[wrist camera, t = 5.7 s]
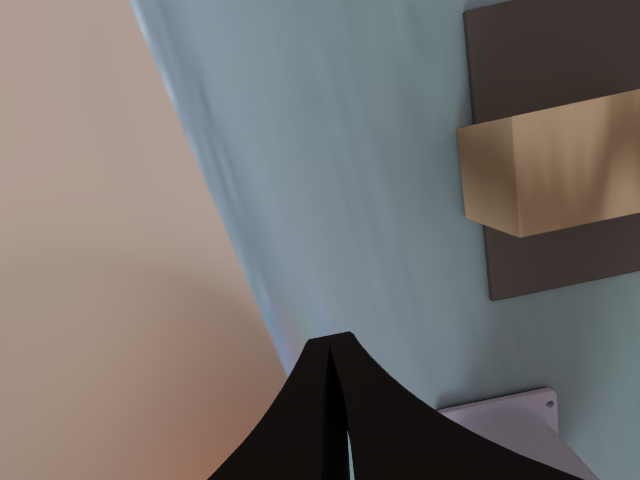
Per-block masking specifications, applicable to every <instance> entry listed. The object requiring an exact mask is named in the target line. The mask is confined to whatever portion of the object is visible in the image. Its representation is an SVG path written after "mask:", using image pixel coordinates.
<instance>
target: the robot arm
mask: <svg viewBox="0 0 640 480" xmlns="http://www.w3.org/2000/svg"><path fill="white" fill-rule="evenodd" d="M547 402H548V403H547ZM347 430H348V434H349V438H350V443H351V452H352V460H353V469H354V478H355V480H599V479H598V477H597V476H596V475H595V474H594V473H593V472H592V471H591V470H590V469H589V468H588V467H587V465H586V464H585V463H584V462H583V461H582V460H581V459H580V458H579V457H578V456H577V455H576V453H575V452H574V451H573V450H572V449H571V448H570V447H569V446H568V445H567V444H566V443H565V441H564V440H563V439H562V438H561V437H560V436H559V429H558V408H557V394H556V393H555V392H554V391H553V390H552V389H551V388H543V389H538V390H533V391H528V392H523V393H518V394H513V395H509V396H504V397H499V398H494V399H489V400H484V401H479V402H474V403H470V404H465V405H460V406H455V407H450V408H445V409H441V410H439V411H436V410H435V409H433V408H432V407H430V406H429V405H427V404H426V403H424V402H423V401H422V400H420V399H419V398H417V397H416V396H415V395H413V394H412V393H411V392H409V391H408V390H407V389H406V388H404V387H403V386H402V385H401V384H400V383H398V382H397V381H396V380H395V379H394V378H393V377H391V376H390V375H389V374H388V373H387V372H386V371H385V370H384V369H383V368H382V367H381V366H380V365H379V364H378V363H377V362H376V361H375V360H374V359H373V358H372V357H371V356H370V355H369V354H368V353H367V351H366V350H365V349H364V348H363V347H362V345H361V344H360V343H359V341H358V340H357V339H356V337H355V335H354V334H353V333H351V332H350V331H349V332H344V333H339V334H334V335H329V336H323V337H318V338H313V339H309V340H308V341H307V343H306V344H305V346H304V348H303V351H302V353H301V355H300V357H299V359H298V361H297V363H296V365H295V367H294V369H293V370H292V372H291V374H290V376H289V377H288V379H287V381H286V383H285V384H284V386H283V388H282V390H281V391H280V392H279V394H278V396H277V397H276V399H275V400H274V402H273V403H272V405H271V406H270V408H269V409H268V411H267V412H266V414H265V415H264V416H263V418H262V419H261V421H260V422H259V423H258V424H257V426H256V427H255V428H254V429H253V431H252V432H251V433H250V434H249V436H248V437H247V438H246V439H245V440H244V442H243V443H242V444H241V445H240V446H239V447H238V448H237V449H236V450H235V451H234V452H233V453H232V454H231V455H230V456H229V457H228V459H227V460H226V461H225V462H224V463H223V464H222V465H221V466H220V467H219V468H218V469H217V471H215V472H214V473H213V474H212V475H211V476H210V477H209V478H208V479H207V480H350V469H349V452H348V434H347Z"/></svg>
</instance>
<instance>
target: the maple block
mask: <svg viewBox="0 0 640 480" xmlns="http://www.w3.org/2000/svg"><path fill="white" fill-rule="evenodd" d="M456 130H457V140H458V149H459V159H460V168H461V177H462V187H463V196H464V205H465V215H466V218H467V219H469V220H472V221H475V222H478V223H480V224H483V225H486V226H489V227H491V228H494V229H497V230H500V231H502V232H505V233H508V234H511V235H513V236H516V237H519V238H521V237H526V236H531V235H535V234H540V233H545V232H550V231H554V230H559V229H564V228H569V227H573V226H578V225H583V224H588V223H592V222H597V221H602V220H607V219H611V218H616V217H621V216H626V215H630V214H635V213H640V89H637V90H633V91H628V92H623V93H619V94H614V95H609V96H605V97H600V98H596V99H591V100H586V101H582V102H577V103H572V104H568V105H563V106H558V107H554V108H549V109H545V110H540V111H535V112H531V113H526V114H521V115H517V116H512V117H508V118H503V119H498V120H494V121H489V122H484V123H480V124H475V125H471V126H466V127H461V128H457V129H456Z"/></svg>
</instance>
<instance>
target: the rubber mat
mask: <svg viewBox="0 0 640 480" xmlns="http://www.w3.org/2000/svg"><path fill="white" fill-rule="evenodd" d="M463 19H464V30H465V40H466V51H467V61H468V72H469V83H470V93H471V104H472V114H473V125H475V124H480V123H484V122H489V121H494V120H498V119H503V118H508V117H512V116H517V115H521V114H526V113H531V112H535V111H540V110H545V109H549V108H554V107H558V106H563V105H568V104H572V103H577V102H582V101H586V100H591V99H596V98H600V97H605V96H609V95H614V94H619V93H623V92H628V91H633V90H637V89H640V0H513V1H508V2H503V3H499V4H494V5H490V6H485V7H481V8H476V9H472V10H467V11H465V12H464V13H463ZM483 230H484V241H485V251H486V262H487V273H488V283H489V294H490V300H491V301H497V300H502V299H506V298H511V297H516V296H521V295H526V294H530V293H535V292H540V291H545V290H550V289H554V288H559V287H564V286H569V285H574V284H578V283H583V282H588V281H593V280H597V279H602V278H607V277H612V276H617V275H621V274H626V273H631V272H636V271H640V213H635V214H630V215H626V216H621V217H616V218H611V219H607V220H602V221H597V222H592V223H588V224H583V225H578V226H573V227H569V228H564V229H559V230H554V231H550V232H545V233H540V234H535V235H531V236H526V237H521V238H519V237H516V236H513V235H511V234H508V233H505V232H502V231H500V230H497V229H494V228H491V227H489V226H486V225H483Z"/></svg>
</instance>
